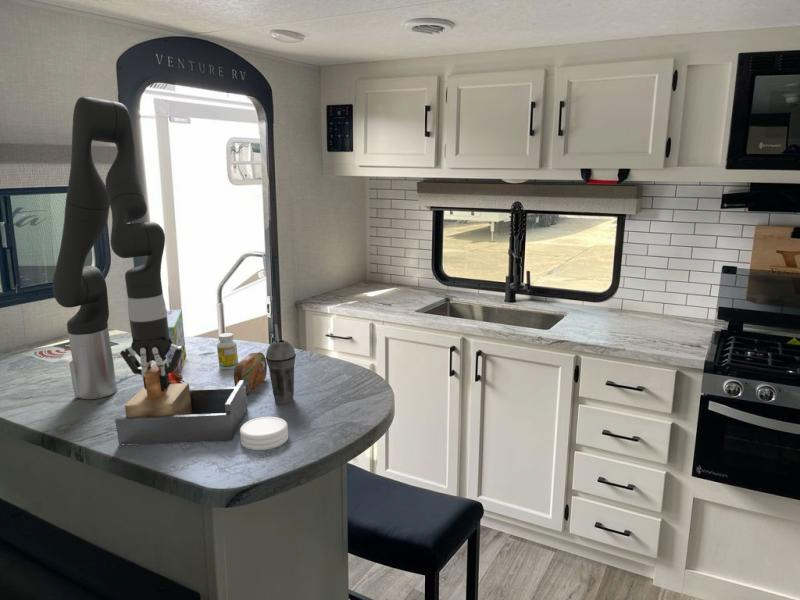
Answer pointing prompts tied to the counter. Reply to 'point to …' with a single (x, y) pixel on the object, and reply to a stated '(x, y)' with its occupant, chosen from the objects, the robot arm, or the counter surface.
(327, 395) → the counter surface
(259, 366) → the tin
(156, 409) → the wooden block with upright
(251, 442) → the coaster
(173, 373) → the dragon fruit
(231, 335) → the supplement bottle
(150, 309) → the robot arm
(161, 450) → the counter surface
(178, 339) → the snack box
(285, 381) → the beverage cup
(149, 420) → the bay
